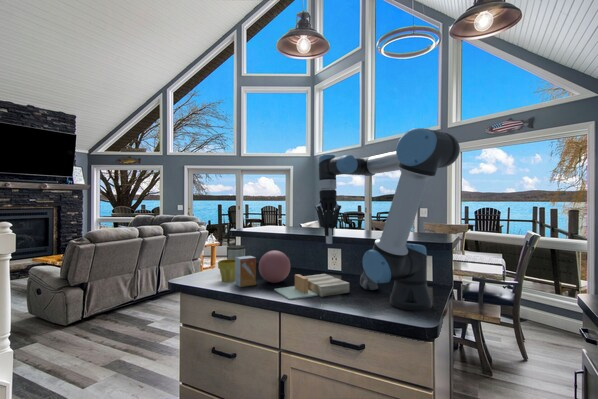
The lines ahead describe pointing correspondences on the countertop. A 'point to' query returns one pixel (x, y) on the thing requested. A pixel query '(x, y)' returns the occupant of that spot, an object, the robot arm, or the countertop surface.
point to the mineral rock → (367, 282)
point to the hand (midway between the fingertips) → (329, 243)
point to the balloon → (274, 266)
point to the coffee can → (235, 251)
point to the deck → (327, 285)
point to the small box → (245, 271)
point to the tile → (301, 283)
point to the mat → (294, 293)
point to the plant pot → (227, 270)
